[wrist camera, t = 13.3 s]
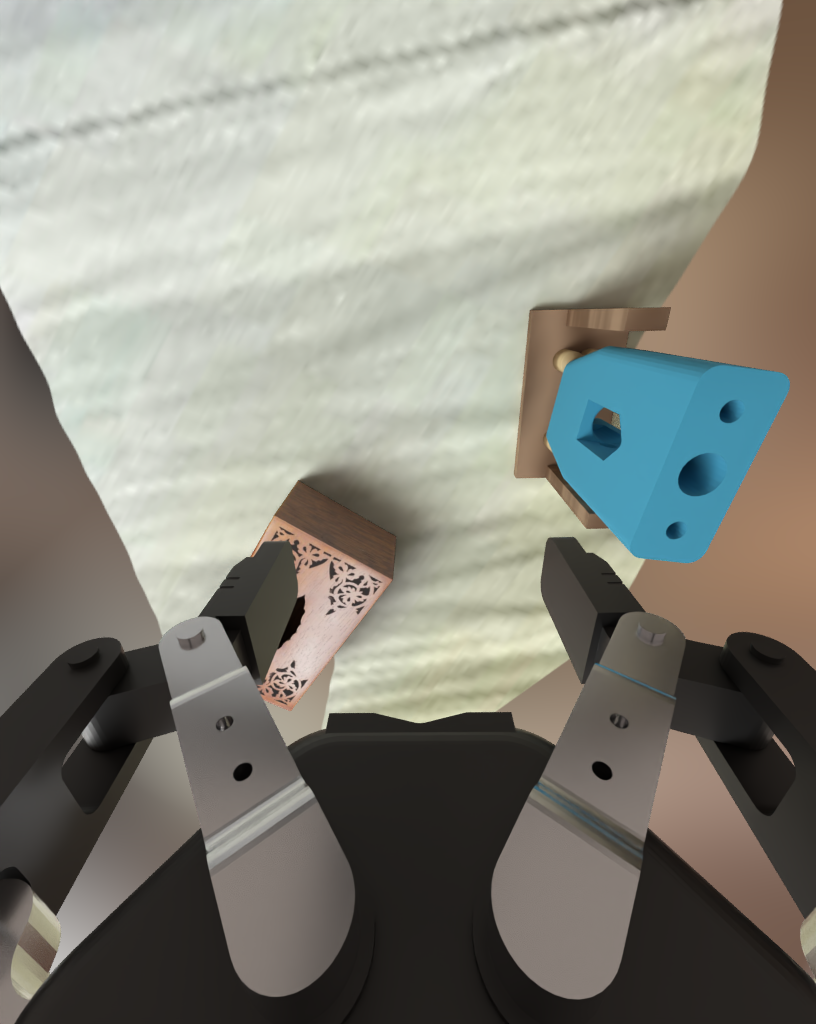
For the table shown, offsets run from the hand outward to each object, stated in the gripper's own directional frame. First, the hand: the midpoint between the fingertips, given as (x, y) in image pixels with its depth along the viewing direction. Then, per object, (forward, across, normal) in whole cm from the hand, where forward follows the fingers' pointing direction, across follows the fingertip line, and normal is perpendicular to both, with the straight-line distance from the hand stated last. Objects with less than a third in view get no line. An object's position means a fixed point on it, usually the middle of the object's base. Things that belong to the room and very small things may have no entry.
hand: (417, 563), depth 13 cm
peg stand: (+36, -17, +2) cm, 40 cm away
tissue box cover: (+37, +16, +26) cm, 48 cm away
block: (+32, -17, +2) cm, 36 cm away
